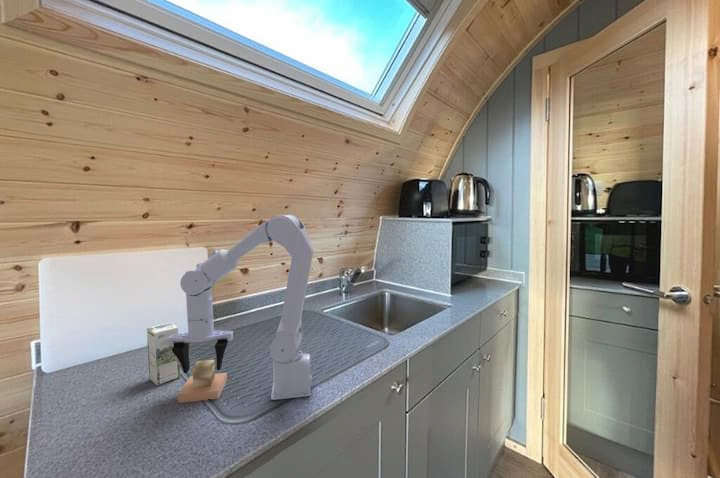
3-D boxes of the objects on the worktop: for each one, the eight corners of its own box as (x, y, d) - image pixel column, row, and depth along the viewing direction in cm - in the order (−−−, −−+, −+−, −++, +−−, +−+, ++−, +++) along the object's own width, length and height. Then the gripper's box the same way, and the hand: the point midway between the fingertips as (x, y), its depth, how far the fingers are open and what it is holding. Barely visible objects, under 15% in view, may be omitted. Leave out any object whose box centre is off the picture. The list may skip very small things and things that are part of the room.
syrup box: (172, 371, 92) (169, 321, 90) (181, 378, 88) (178, 326, 86) (149, 379, 87) (145, 327, 86) (157, 387, 83) (154, 332, 82)
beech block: (215, 378, 84) (214, 359, 84) (210, 386, 80) (209, 366, 80) (198, 379, 83) (197, 360, 83) (193, 387, 79) (192, 368, 79)
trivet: (227, 381, 87) (226, 372, 87) (218, 400, 78) (218, 390, 78) (191, 384, 85) (190, 375, 85) (178, 404, 77) (177, 394, 76)
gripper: (234, 310, 85) (236, 359, 86) (174, 313, 83) (177, 364, 84) (228, 319, 78) (231, 372, 80) (163, 323, 76) (166, 378, 77)
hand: (203, 369), depth 81 cm, fingers open, 7 cm apart
